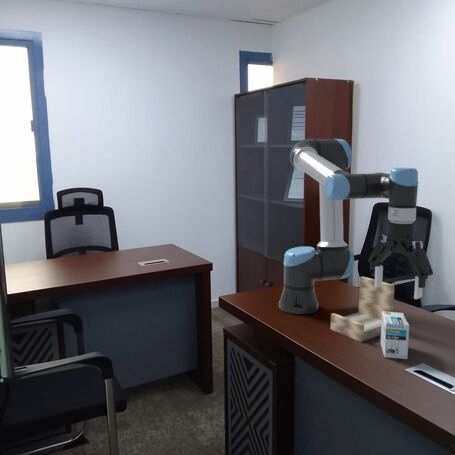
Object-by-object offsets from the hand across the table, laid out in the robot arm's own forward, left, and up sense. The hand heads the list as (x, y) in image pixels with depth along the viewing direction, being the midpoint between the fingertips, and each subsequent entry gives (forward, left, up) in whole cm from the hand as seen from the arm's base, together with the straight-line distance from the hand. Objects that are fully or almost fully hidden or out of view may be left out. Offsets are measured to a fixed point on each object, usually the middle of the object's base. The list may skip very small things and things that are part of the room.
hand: (397, 292), depth 136 cm
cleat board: (-17, +5, -19) cm, 25 cm away
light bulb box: (0, 0, -19) cm, 19 cm away
